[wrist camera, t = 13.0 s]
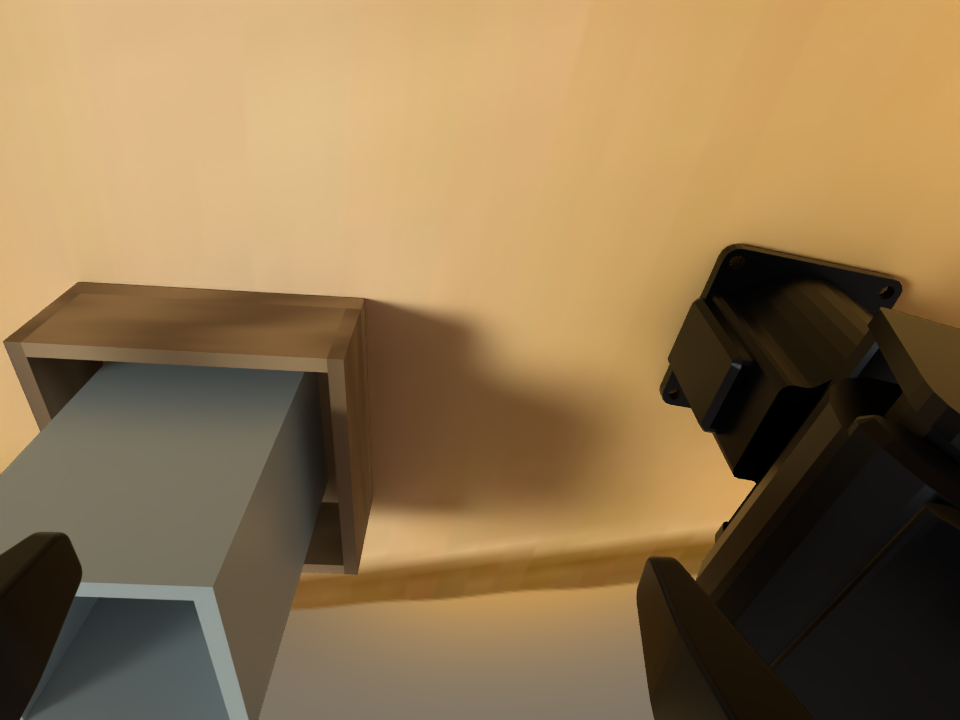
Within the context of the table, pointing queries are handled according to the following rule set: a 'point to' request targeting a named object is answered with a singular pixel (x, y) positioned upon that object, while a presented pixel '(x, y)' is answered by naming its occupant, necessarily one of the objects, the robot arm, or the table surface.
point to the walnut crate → (221, 343)
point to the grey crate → (172, 535)
